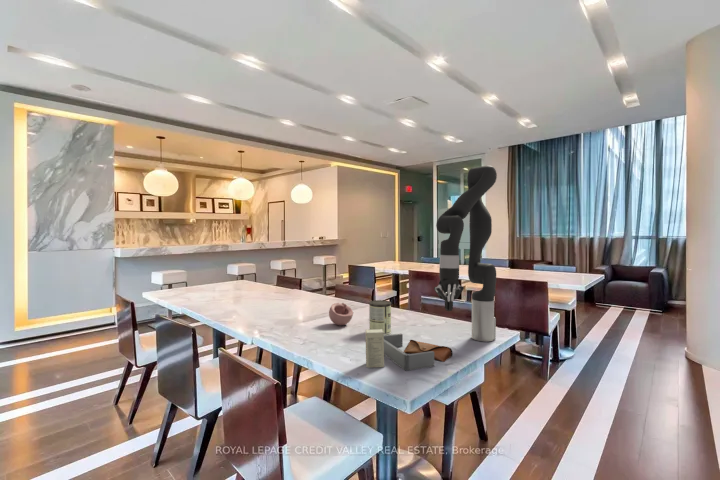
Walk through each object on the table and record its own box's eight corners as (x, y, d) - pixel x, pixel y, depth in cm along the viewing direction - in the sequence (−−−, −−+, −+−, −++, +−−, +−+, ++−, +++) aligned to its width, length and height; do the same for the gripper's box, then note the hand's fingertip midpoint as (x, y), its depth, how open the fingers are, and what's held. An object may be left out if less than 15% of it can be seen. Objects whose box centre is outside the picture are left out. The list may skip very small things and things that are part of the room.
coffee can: (369, 329, 170) (370, 299, 170) (391, 329, 169) (391, 300, 169) (368, 335, 160) (368, 304, 160) (391, 335, 159) (391, 304, 159)
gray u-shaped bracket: (401, 345, 145) (401, 333, 145) (434, 366, 122) (434, 352, 122) (376, 348, 141) (376, 336, 141) (405, 370, 118) (405, 356, 118)
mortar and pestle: (339, 329, 169) (339, 305, 169) (324, 324, 178) (324, 302, 178) (357, 325, 177) (357, 302, 177) (342, 320, 186) (342, 299, 186)
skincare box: (383, 363, 125) (383, 328, 125) (384, 367, 121) (384, 332, 121) (365, 363, 125) (365, 328, 125) (365, 367, 121) (365, 332, 121)
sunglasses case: (400, 352, 136) (404, 335, 139) (406, 357, 141) (410, 341, 144) (445, 362, 126) (448, 344, 129) (450, 367, 131) (453, 349, 134)
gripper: (457, 265, 144) (456, 307, 145) (429, 266, 140) (429, 309, 140) (469, 267, 137) (468, 311, 138) (440, 267, 133) (439, 313, 133)
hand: (448, 310), depth 139 cm, fingers closed
